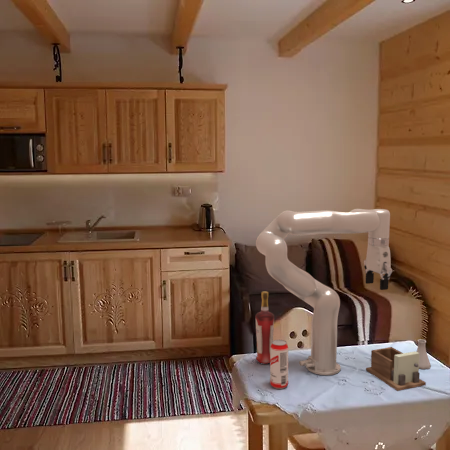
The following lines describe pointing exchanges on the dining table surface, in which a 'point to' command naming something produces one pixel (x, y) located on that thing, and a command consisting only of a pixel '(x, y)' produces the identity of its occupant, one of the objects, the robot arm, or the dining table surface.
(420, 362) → the flask
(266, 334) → the liquor
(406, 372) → the block
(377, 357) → the cabinet
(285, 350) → the beer can
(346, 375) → the dining table surface
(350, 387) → the dining table surface
